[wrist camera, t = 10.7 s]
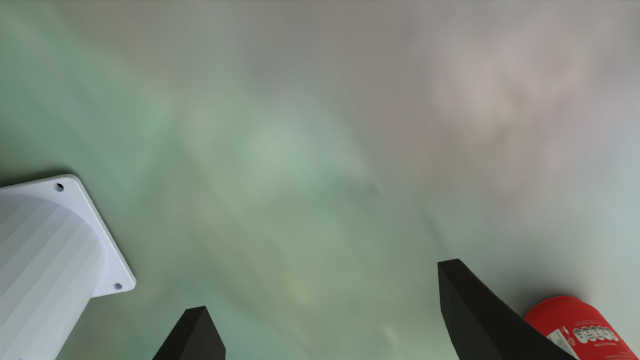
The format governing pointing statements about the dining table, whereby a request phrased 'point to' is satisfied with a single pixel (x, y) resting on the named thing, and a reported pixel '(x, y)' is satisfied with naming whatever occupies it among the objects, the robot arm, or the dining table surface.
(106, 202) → the dining table surface
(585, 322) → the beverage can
